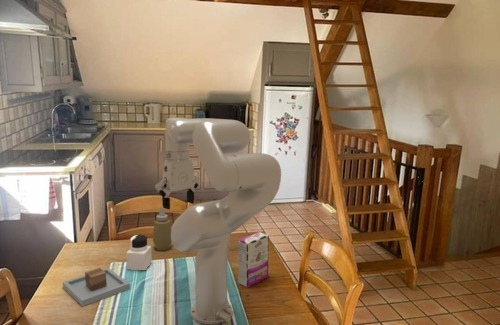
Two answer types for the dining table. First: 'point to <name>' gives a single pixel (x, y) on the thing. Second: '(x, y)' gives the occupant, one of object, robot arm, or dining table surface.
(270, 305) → the dining table surface
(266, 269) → the candy bar box
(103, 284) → the cube
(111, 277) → the tray
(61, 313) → the dining table surface
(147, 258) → the medicine bottle
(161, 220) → the squeeze bottle
